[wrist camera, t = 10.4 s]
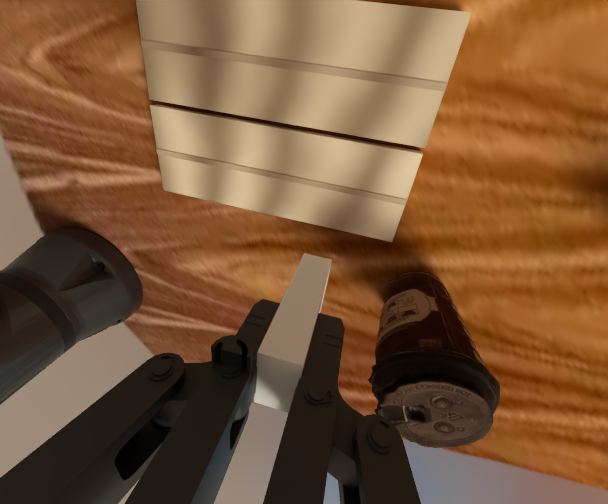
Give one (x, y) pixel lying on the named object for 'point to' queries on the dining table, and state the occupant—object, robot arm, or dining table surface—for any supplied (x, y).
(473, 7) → the dining table surface
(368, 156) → the plank
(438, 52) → the laid board
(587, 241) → the dining table surface
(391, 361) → the coffee cup
